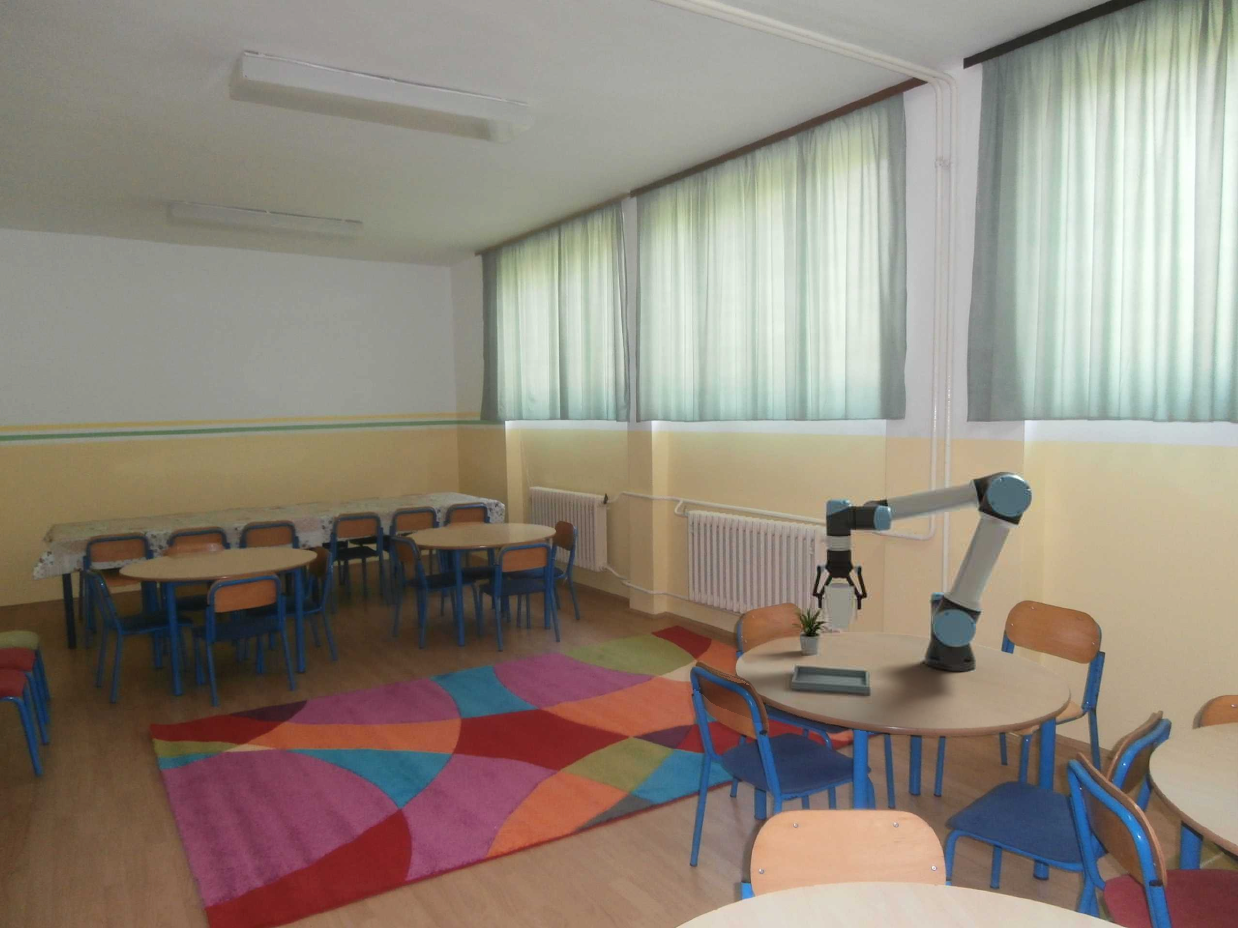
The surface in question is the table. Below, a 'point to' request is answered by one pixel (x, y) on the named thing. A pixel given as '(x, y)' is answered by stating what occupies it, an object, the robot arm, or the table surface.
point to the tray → (831, 680)
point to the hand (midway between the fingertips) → (839, 619)
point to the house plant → (809, 632)
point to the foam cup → (839, 603)
